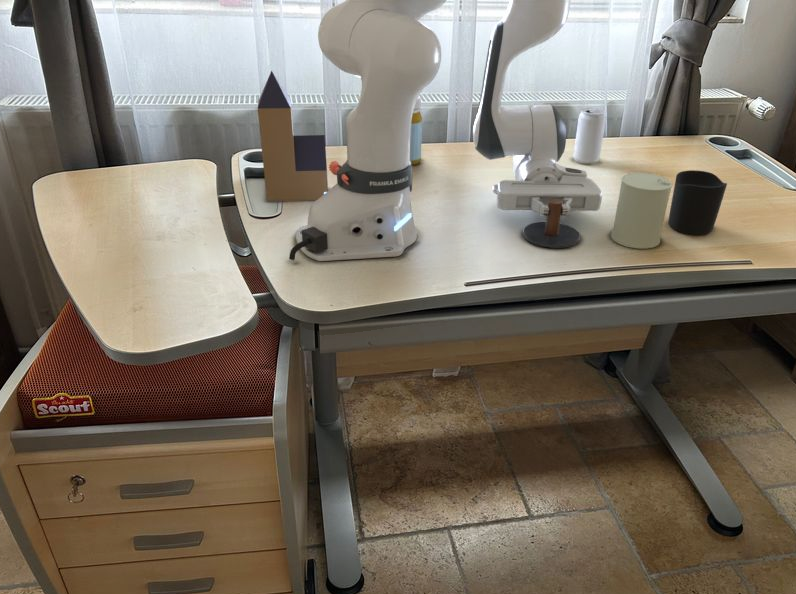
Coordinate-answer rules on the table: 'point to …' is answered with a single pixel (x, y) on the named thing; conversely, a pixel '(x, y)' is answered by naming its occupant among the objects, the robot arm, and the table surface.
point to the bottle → (416, 134)
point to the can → (641, 210)
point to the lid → (552, 229)
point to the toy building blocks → (288, 150)
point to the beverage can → (589, 135)
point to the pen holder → (696, 202)
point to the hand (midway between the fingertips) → (555, 212)
